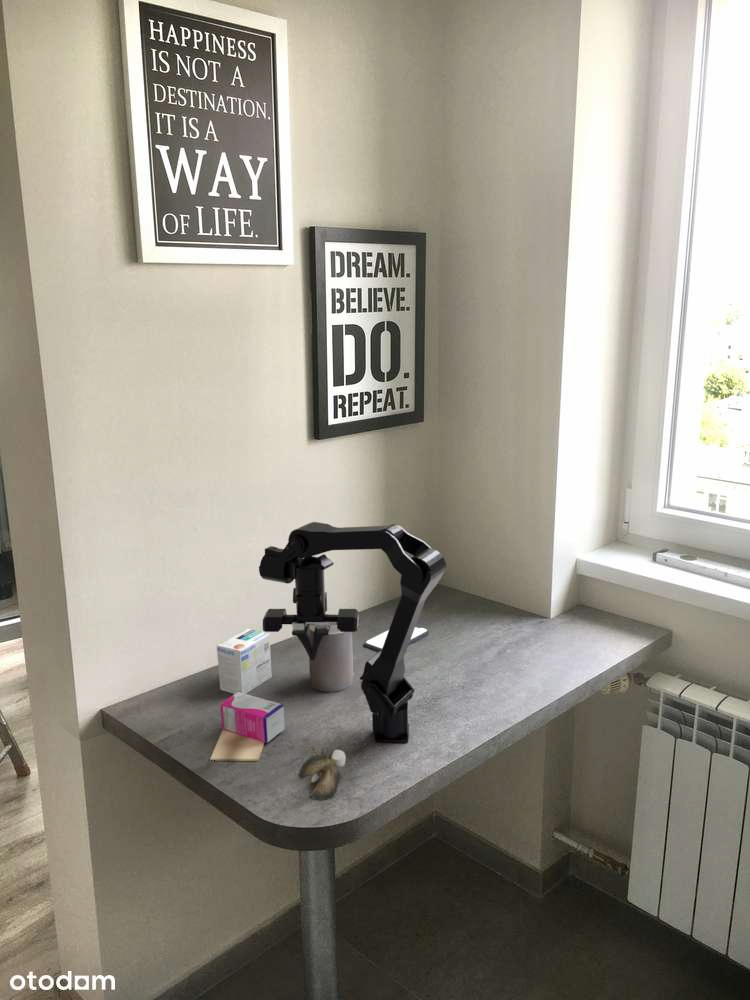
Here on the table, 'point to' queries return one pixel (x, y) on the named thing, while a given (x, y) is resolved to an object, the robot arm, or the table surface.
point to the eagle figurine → (323, 772)
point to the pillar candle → (332, 661)
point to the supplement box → (252, 717)
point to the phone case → (378, 641)
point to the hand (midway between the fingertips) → (313, 659)
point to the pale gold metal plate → (236, 748)
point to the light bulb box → (244, 661)
